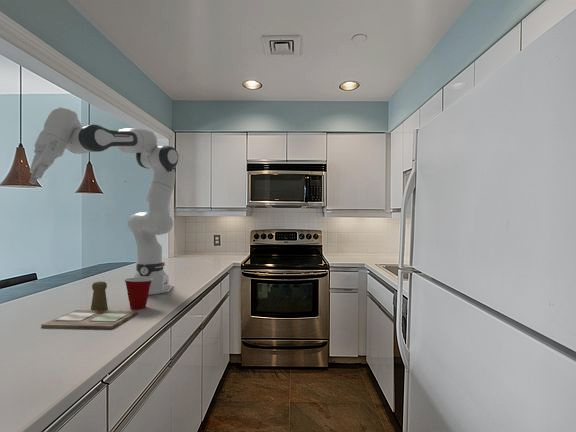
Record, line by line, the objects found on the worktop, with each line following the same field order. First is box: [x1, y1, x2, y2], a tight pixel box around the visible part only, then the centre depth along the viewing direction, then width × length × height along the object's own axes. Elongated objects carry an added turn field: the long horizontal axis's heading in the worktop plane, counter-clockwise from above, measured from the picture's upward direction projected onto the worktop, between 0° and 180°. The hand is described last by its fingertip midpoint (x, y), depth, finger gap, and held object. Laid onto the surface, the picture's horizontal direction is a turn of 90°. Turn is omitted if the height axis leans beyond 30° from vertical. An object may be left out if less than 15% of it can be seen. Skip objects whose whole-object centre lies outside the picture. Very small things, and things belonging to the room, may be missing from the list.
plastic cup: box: [123, 277, 153, 310], centre depth 142 cm, size 11×11×12 cm
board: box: [40, 309, 139, 330], centre depth 124 cm, size 18×24×1 cm
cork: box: [90, 280, 109, 311], centre depth 138 cm, size 6×6×11 cm
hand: (35, 180), depth 122 cm, fingers open, 8 cm apart
